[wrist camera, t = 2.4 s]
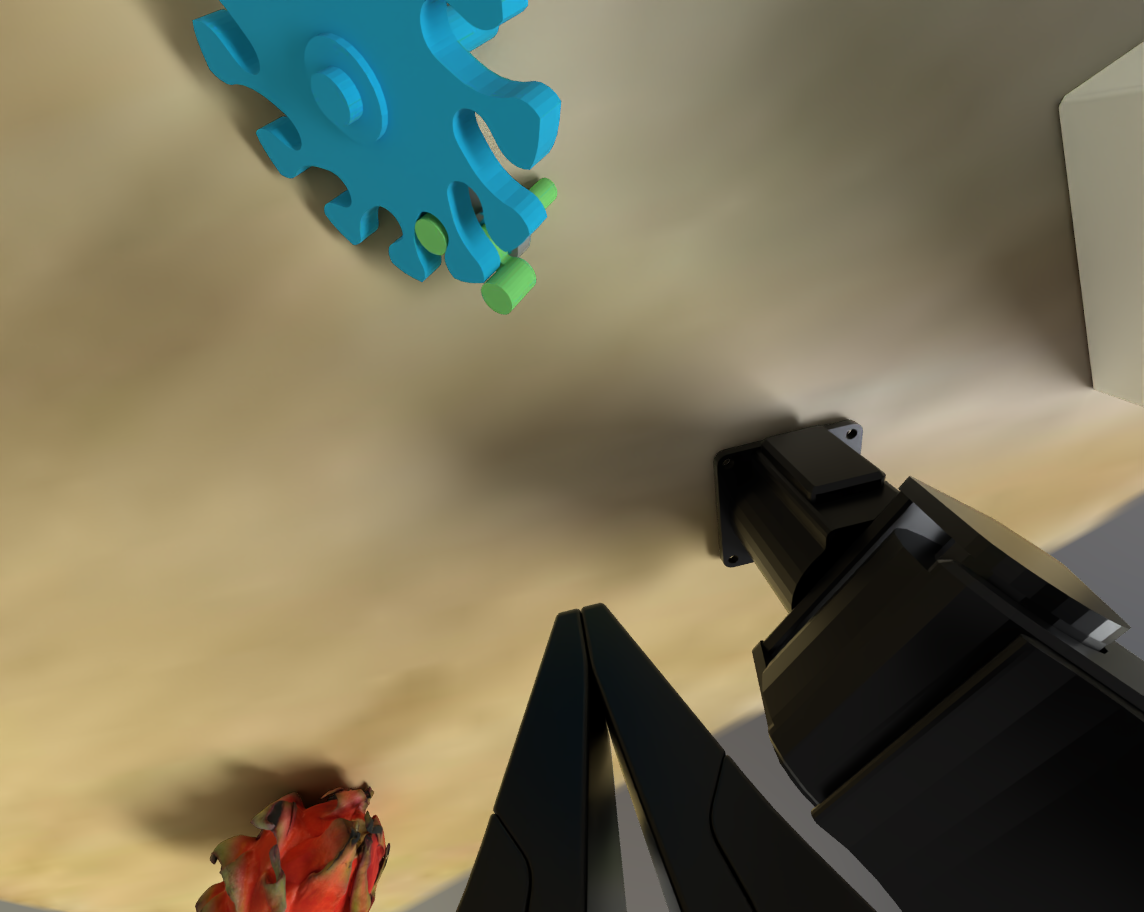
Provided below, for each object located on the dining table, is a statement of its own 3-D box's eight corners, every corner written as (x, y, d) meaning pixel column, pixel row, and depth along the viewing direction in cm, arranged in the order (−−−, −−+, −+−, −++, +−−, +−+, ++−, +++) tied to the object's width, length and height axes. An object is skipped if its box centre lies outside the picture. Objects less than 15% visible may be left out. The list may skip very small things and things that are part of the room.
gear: (71, -56, 11) (175, -685, 5) (273, -109, 14) (514, -549, 8) (393, 341, 18) (623, 309, 11) (487, 251, 21) (715, 184, 14)
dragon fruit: (252, 821, 33) (379, 708, 32) (325, 937, 32) (460, 823, 31) (113, 933, 25) (277, 786, 24) (203, 1098, 23) (383, 949, 22)
